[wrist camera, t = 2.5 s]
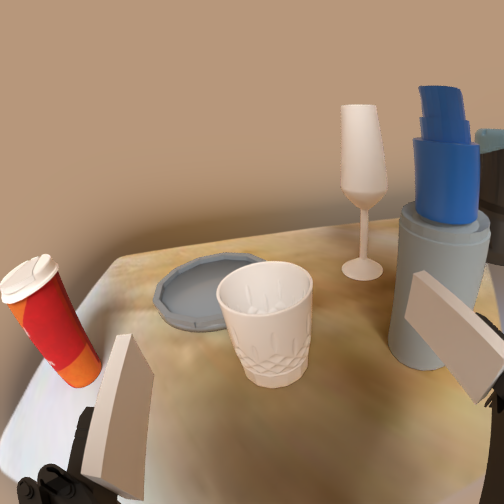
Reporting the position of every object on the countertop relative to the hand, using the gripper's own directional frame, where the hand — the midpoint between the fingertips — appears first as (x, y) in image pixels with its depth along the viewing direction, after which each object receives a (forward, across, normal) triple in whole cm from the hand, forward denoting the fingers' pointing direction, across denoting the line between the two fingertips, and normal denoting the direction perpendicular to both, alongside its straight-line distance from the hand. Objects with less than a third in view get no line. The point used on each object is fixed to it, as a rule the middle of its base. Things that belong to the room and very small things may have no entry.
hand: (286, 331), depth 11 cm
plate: (+26, -5, -14) cm, 30 cm away
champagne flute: (+23, +18, -14) cm, 32 cm away
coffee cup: (+12, -24, -14) cm, 30 cm away
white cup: (+10, 0, -14) cm, 17 cm away
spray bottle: (+7, +17, -14) cm, 23 cm away
